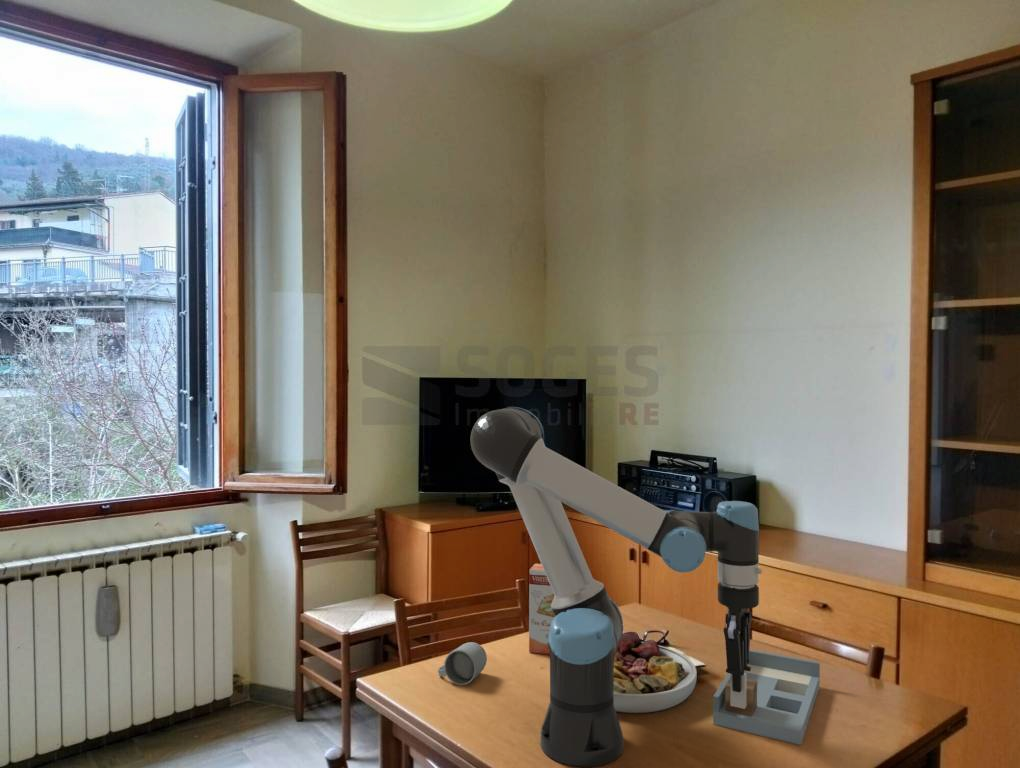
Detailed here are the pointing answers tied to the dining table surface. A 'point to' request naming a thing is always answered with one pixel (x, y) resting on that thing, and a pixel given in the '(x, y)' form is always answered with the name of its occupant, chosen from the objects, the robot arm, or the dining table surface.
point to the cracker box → (539, 610)
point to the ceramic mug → (464, 663)
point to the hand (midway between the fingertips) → (738, 705)
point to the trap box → (774, 697)
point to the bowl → (650, 676)
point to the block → (750, 699)
